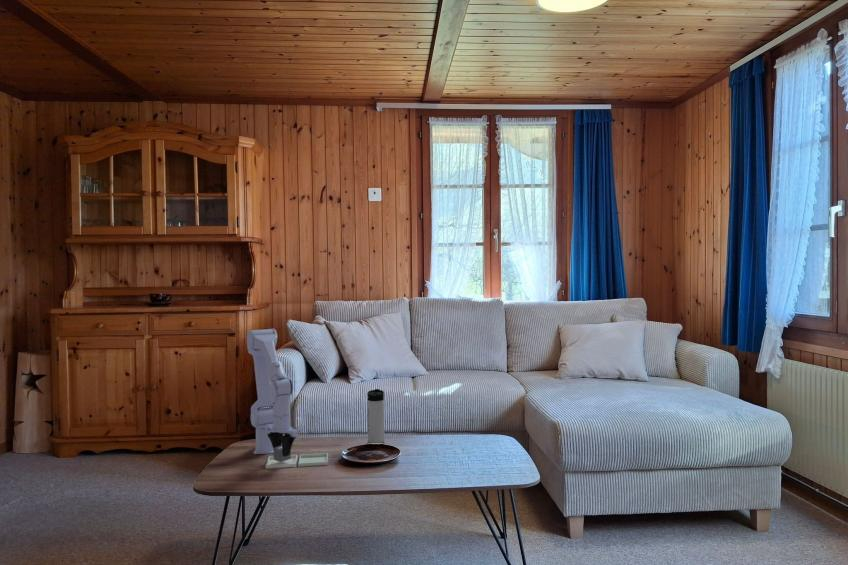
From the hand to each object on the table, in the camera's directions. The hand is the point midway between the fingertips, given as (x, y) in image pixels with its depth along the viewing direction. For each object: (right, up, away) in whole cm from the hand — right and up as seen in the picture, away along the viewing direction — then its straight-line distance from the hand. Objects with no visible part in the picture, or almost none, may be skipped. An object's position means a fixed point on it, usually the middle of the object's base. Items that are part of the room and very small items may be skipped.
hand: (282, 454), depth 189 cm
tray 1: (0, -3, 0) cm, 3 cm away
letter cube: (0, -2, 0) cm, 2 cm away
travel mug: (+30, -3, +22) cm, 37 cm away
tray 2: (+10, -3, +2) cm, 11 cm away
